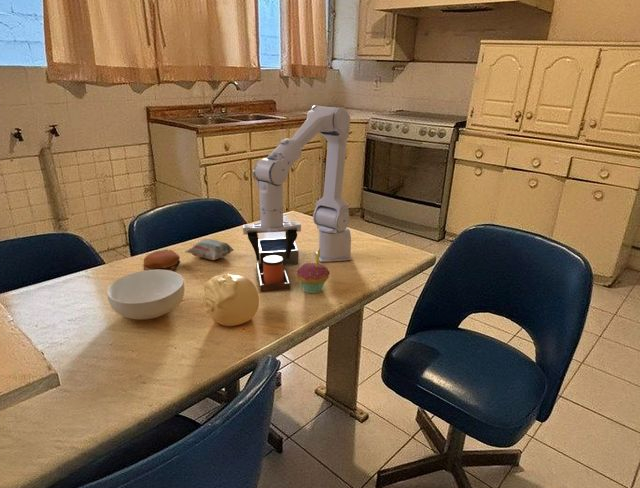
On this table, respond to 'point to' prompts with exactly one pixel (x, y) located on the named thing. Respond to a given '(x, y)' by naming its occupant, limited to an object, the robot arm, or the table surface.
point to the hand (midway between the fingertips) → (272, 258)
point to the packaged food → (210, 249)
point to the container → (273, 269)
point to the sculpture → (231, 299)
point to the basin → (277, 250)
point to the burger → (161, 260)
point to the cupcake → (313, 276)
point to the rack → (272, 286)
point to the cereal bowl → (146, 294)
